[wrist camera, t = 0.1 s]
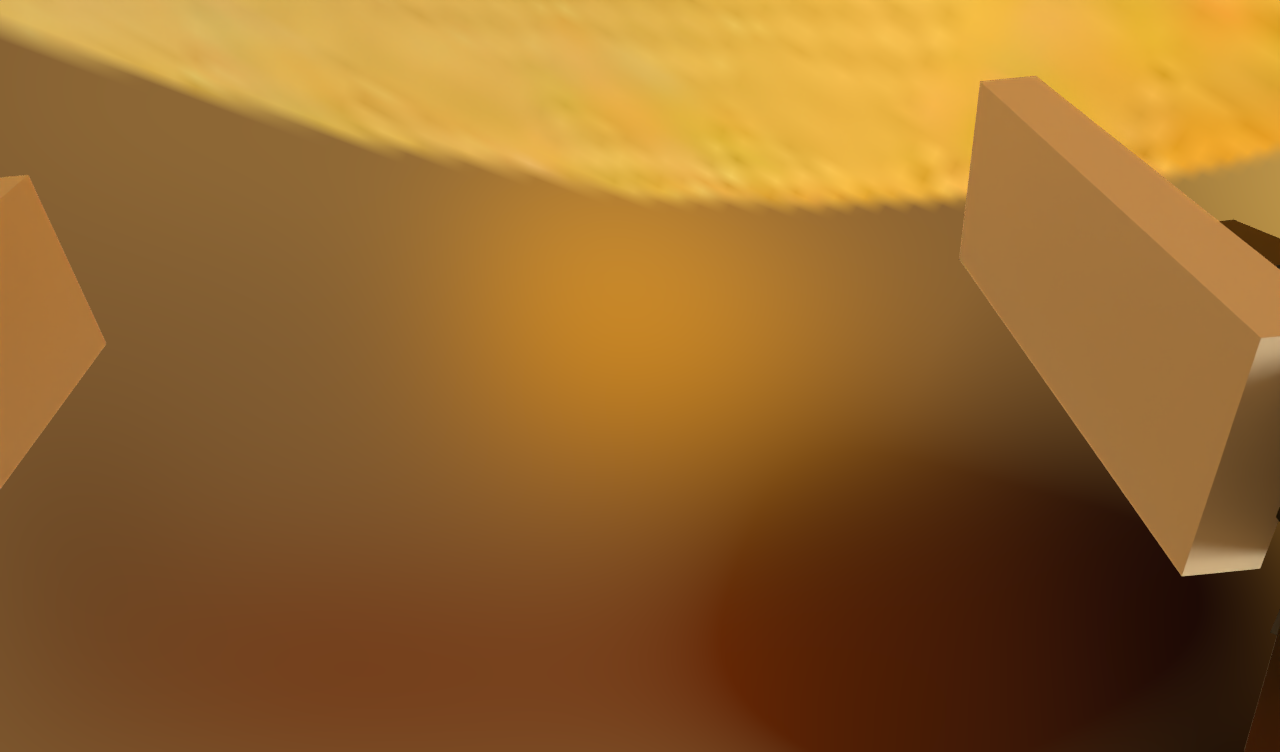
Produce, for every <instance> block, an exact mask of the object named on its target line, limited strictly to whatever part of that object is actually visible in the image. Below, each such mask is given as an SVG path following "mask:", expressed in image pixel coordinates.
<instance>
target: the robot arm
mask: <svg viewBox="0 0 1280 752" xmlns="http://www.w3.org/2000/svg"><path fill="white" fill-rule="evenodd" d="M959 260H960V261H961V262H962V264H963V265H964V267H965V268H966V270H967V271H968V273H969V274H970V275H971V277H972V278H973V280H974V281H975V283H976V284H977V285H978V287H979V288H980V290H981V291H982V293H983V294H984V295H985V297H986V298H987V300H988V301H989V302H990V304H991V305H992V307H993V308H994V310H995V311H996V312H997V314H998V315H999V317H1000V318H1001V319H1002V321H1003V322H1004V324H1005V325H1006V327H1007V328H1008V330H1009V331H1010V332H1011V334H1012V335H1013V337H1014V338H1015V339H1016V341H1017V342H1018V344H1019V345H1020V347H1021V348H1022V349H1023V351H1024V352H1025V354H1026V355H1027V357H1028V358H1029V359H1030V361H1031V362H1032V364H1033V365H1034V366H1035V368H1036V369H1037V371H1038V372H1039V374H1040V375H1041V376H1042V378H1043V379H1044V380H1045V382H1046V384H1047V385H1048V386H1049V388H1050V389H1051V391H1052V392H1053V394H1054V395H1055V396H1056V398H1057V399H1058V401H1059V402H1060V404H1061V405H1062V406H1063V408H1064V409H1065V411H1066V412H1067V414H1068V415H1069V416H1070V418H1071V419H1072V421H1073V422H1074V423H1075V425H1076V426H1077V427H1078V429H1079V431H1080V432H1081V433H1082V435H1083V436H1084V438H1085V439H1086V440H1087V442H1088V443H1089V445H1090V446H1091V448H1092V449H1093V450H1094V452H1095V453H1096V455H1097V456H1098V458H1099V459H1100V460H1101V462H1102V463H1103V465H1104V466H1105V468H1106V469H1107V470H1108V472H1109V473H1110V475H1111V476H1112V478H1113V479H1114V480H1115V482H1116V483H1117V485H1118V486H1119V487H1120V489H1121V490H1122V492H1123V493H1124V494H1125V496H1126V497H1127V499H1128V500H1129V502H1130V503H1131V505H1132V506H1133V507H1134V509H1135V510H1136V512H1137V513H1138V515H1139V516H1140V517H1141V519H1142V520H1143V521H1144V523H1145V524H1146V526H1147V527H1148V529H1149V530H1150V532H1151V533H1152V534H1153V536H1154V537H1155V539H1156V540H1157V542H1158V543H1159V544H1160V546H1161V547H1162V549H1163V550H1164V552H1165V553H1166V554H1167V556H1168V557H1169V559H1170V560H1171V561H1172V563H1173V564H1174V566H1175V567H1176V568H1177V570H1178V571H1179V573H1180V574H1181V576H1188V575H1199V574H1208V573H1219V572H1229V571H1239V570H1249V569H1258V568H1260V567H1261V564H1262V562H1263V559H1264V557H1265V554H1266V552H1267V549H1268V547H1269V544H1270V542H1271V539H1272V536H1273V534H1274V531H1275V529H1276V526H1277V524H1278V521H1280V239H1279V238H1277V237H1275V236H1272V235H1270V234H1267V233H1265V232H1262V231H1260V230H1257V229H1255V228H1253V227H1250V226H1248V225H1245V224H1243V223H1240V222H1237V221H1236V220H1227V221H1218V220H1217V219H1215V218H1214V217H1213V216H1212V215H1210V214H1209V213H1208V212H1206V211H1205V210H1204V209H1203V208H1201V207H1200V206H1199V205H1198V204H1196V203H1195V202H1194V201H1193V200H1191V199H1190V198H1189V197H1188V196H1186V195H1185V194H1184V193H1183V192H1181V191H1180V190H1179V189H1178V188H1176V187H1175V186H1174V185H1173V184H1171V183H1170V182H1169V181H1168V180H1166V179H1165V178H1164V177H1162V176H1161V175H1160V174H1159V173H1157V172H1156V171H1155V170H1154V169H1152V168H1151V167H1150V166H1149V165H1147V164H1146V163H1145V162H1144V161H1142V160H1141V159H1140V158H1139V157H1137V156H1136V155H1135V154H1133V153H1132V152H1131V151H1130V150H1128V149H1127V148H1126V147H1125V146H1123V145H1122V144H1121V143H1120V142H1118V141H1117V140H1116V139H1115V138H1113V137H1112V136H1111V135H1110V134H1108V133H1107V132H1106V131H1105V130H1103V129H1102V128H1101V127H1099V126H1098V125H1097V124H1096V123H1094V122H1093V121H1092V120H1091V119H1089V118H1088V117H1087V116H1086V115H1084V114H1083V113H1082V112H1081V111H1079V110H1078V109H1077V108H1076V107H1074V106H1073V105H1072V104H1070V103H1069V102H1068V101H1067V100H1065V99H1064V98H1063V97H1062V96H1060V95H1059V94H1058V93H1057V92H1055V91H1054V90H1053V89H1052V88H1050V87H1049V86H1048V85H1047V84H1045V83H1044V82H1043V81H1041V80H1040V79H1039V78H1038V77H1036V76H1030V77H1020V78H1009V79H999V80H989V81H980V88H979V97H978V105H977V114H976V122H975V130H974V139H973V147H972V156H971V164H970V173H969V181H968V189H967V198H966V206H965V215H964V223H963V232H962V240H961V249H960V257H959ZM105 345H106V342H105V339H104V337H103V335H102V333H101V331H100V329H99V326H98V324H97V322H96V320H95V318H94V316H93V313H92V311H91V309H90V307H89V305H88V303H87V301H86V298H85V296H84V294H83V292H82V290H81V288H80V285H79V283H78V282H77V279H76V277H75V275H74V273H73V270H72V268H71V266H70V264H69V262H68V260H67V257H66V255H65V253H64V251H63V249H62V247H61V244H60V242H59V240H58V238H57V236H56V234H55V231H54V229H53V227H52V225H51V223H50V221H49V219H48V216H47V214H46V212H45V210H44V208H43V206H42V203H41V201H40V199H39V197H38V195H37V193H36V190H35V188H34V186H33V184H32V182H31V180H30V178H29V175H23V176H12V177H1V178H0V489H1V487H2V486H3V485H4V483H5V482H6V481H7V479H8V478H9V476H10V475H11V474H12V472H13V471H14V470H15V468H16V467H17V466H18V464H19V463H20V461H21V460H22V459H23V457H24V456H25V455H26V453H27V452H28V450H29V449H30V448H31V446H32V445H33V444H34V442H35V441H36V439H37V438H38V437H39V435H40V434H41V432H42V431H43V430H44V429H45V427H46V426H47V424H48V423H49V422H50V420H51V419H52V418H53V416H54V415H55V413H56V412H57V411H58V409H59V408H60V407H61V405H62V404H63V402H64V401H65V400H66V398H67V397H68V396H69V394H70V393H71V391H72V390H73V389H74V387H75V386H76V384H77V383H78V382H79V381H80V379H81V378H82V376H83V375H84V373H85V372H86V371H87V369H88V368H89V367H90V365H91V364H92V363H93V361H94V360H95V359H96V357H97V356H98V355H99V353H100V352H101V350H102V349H103V348H104V346H105ZM1270 633H1272V634H1275V635H1277V637H1276V641H1275V644H1274V648H1273V651H1272V655H1271V658H1270V662H1269V665H1268V669H1267V672H1266V676H1265V679H1264V683H1263V686H1262V690H1261V693H1260V697H1259V700H1258V704H1257V707H1256V711H1255V714H1254V718H1253V722H1252V725H1251V728H1250V732H1249V735H1248V739H1247V742H1246V746H1245V749H1244V752H1280V611H1279V613H1278V615H1277V618H1276V620H1275V622H1274V625H1273V627H1272V629H1271V632H1270Z"/></svg>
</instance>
